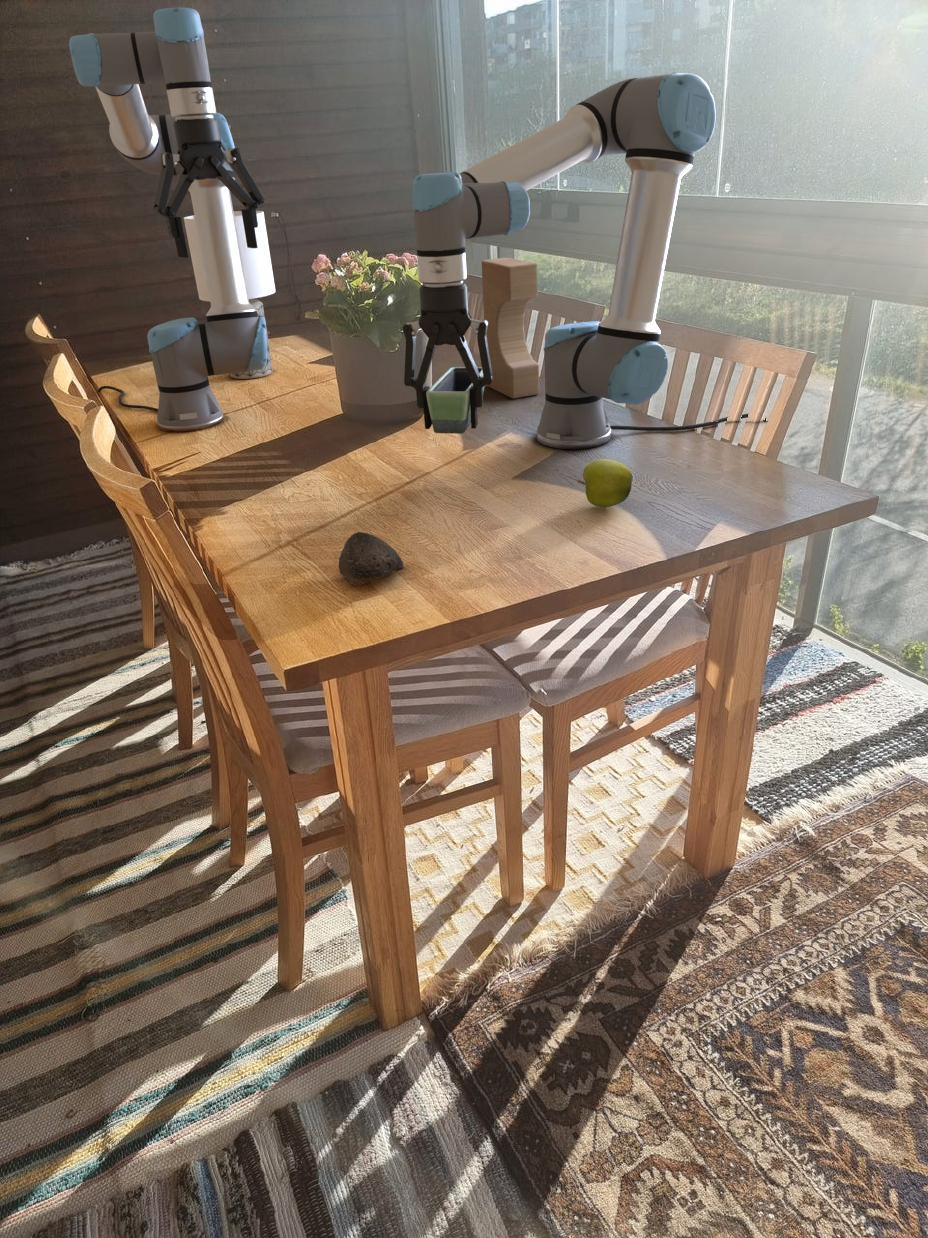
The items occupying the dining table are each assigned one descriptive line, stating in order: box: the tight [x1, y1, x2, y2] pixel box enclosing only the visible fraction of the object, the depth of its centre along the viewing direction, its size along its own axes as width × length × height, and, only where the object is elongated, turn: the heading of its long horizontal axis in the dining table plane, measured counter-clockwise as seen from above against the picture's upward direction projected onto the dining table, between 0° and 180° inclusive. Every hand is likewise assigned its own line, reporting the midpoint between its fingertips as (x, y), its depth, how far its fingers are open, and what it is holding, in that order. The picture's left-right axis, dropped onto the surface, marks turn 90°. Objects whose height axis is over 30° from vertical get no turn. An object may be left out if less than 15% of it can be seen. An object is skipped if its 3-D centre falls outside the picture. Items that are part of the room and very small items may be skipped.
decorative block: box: [481, 256, 540, 399], centre depth 213 cm, size 15×8×30 cm, turn 24°
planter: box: [426, 366, 485, 435], centre depth 157 cm, size 28×7×7 cm, turn 173°
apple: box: [577, 458, 634, 508], centre depth 149 cm, size 8×9×8 cm
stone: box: [338, 531, 405, 586], centre depth 130 cm, size 10×8×10 cm
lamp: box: [183, 210, 276, 380], centre depth 242 cm, size 21×21×42 cm
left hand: (218, 252), depth 160 cm, fingers open, 13 cm apart
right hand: (451, 426), depth 149 cm, fingers closed on planter, 7 cm apart
